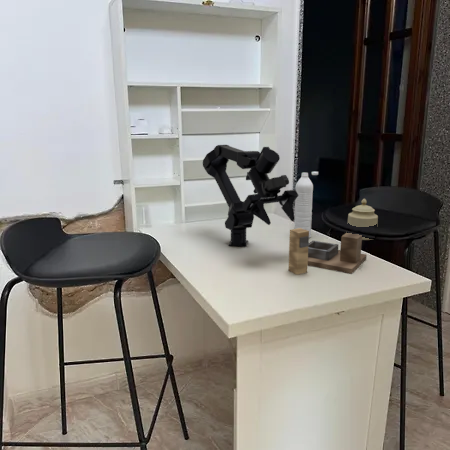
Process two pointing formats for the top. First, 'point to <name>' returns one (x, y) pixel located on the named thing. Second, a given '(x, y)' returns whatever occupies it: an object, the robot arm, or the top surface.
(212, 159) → the robot arm
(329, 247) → the wooden fixture board
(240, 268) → the top surface
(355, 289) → the top surface
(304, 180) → the water bottle
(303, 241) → the beige block
